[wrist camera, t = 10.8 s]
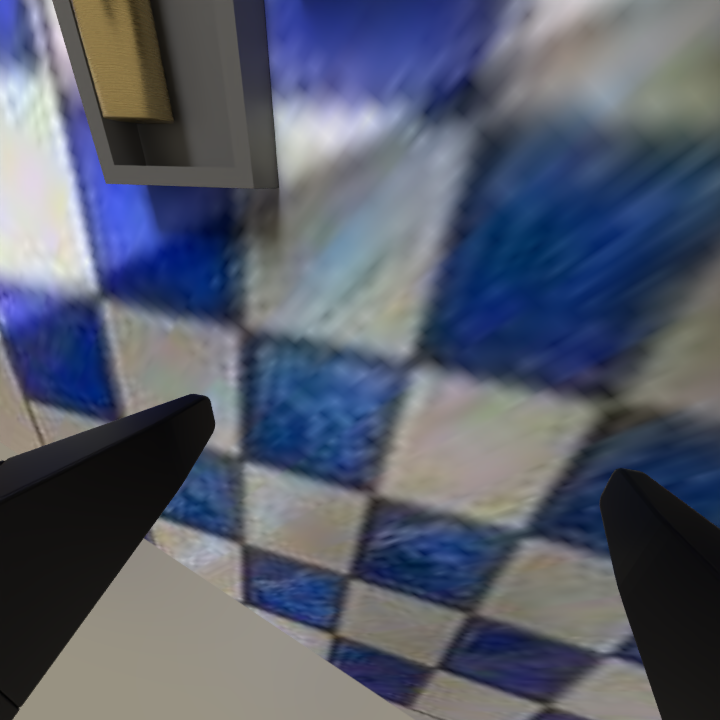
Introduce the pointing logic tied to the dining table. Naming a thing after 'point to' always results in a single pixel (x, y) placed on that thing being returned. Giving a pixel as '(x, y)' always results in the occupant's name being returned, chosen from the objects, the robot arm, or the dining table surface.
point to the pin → (124, 59)
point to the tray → (192, 100)
